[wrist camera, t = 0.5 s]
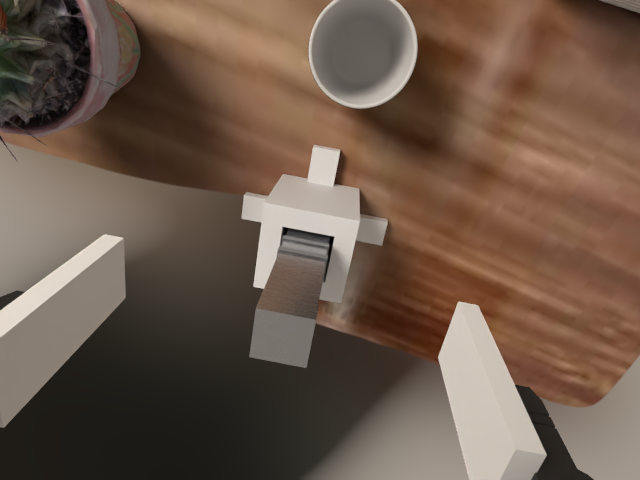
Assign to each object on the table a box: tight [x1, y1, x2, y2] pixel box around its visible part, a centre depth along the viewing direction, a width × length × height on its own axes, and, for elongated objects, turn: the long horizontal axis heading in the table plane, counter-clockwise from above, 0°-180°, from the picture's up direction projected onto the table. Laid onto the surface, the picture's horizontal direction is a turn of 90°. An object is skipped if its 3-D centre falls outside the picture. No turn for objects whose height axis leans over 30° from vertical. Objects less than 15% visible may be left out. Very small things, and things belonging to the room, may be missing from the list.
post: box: [250, 228, 330, 368], centre depth 40 cm, size 4×4×24 cm
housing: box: [242, 145, 388, 304], centre depth 46 cm, size 17×17×11 cm
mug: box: [308, 0, 418, 109], centre depth 39 cm, size 12×9×10 cm
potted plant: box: [0, 0, 141, 159], centre depth 34 cm, size 18×20×25 cm
